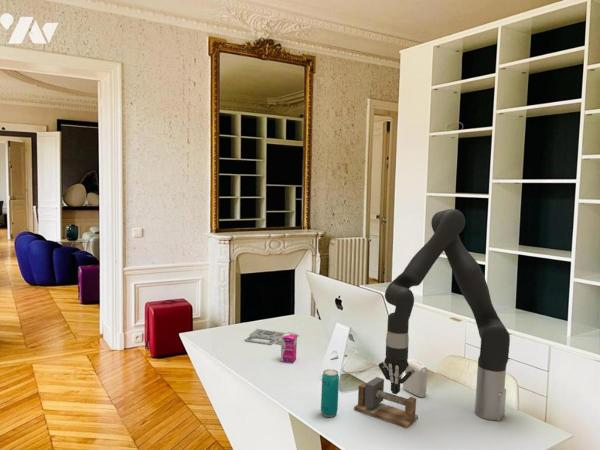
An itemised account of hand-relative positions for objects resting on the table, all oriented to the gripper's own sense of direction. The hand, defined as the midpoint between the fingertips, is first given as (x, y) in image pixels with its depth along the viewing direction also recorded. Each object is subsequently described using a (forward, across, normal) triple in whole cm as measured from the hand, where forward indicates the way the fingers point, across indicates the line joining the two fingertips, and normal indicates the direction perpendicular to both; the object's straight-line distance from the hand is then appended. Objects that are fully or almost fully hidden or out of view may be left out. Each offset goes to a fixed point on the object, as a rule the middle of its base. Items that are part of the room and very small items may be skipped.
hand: (395, 393), depth 170 cm
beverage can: (+8, +18, +14) cm, 24 cm away
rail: (+8, +3, 0) cm, 9 cm away
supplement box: (+8, +60, -17) cm, 63 cm away
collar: (+6, +8, 0) cm, 10 cm away
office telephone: (+9, +86, -36) cm, 94 cm away
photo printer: (+9, +3, -24) cm, 25 cm away
